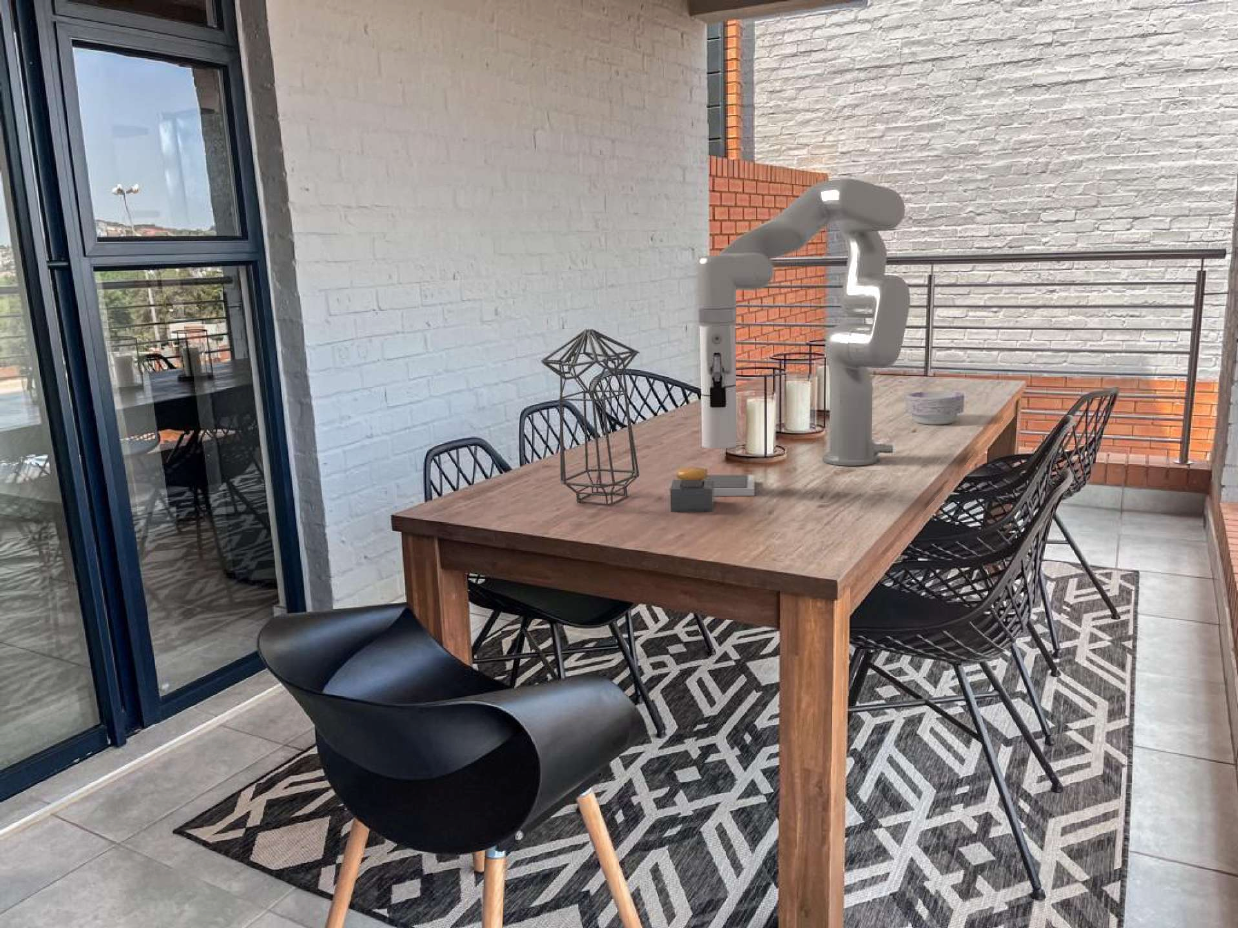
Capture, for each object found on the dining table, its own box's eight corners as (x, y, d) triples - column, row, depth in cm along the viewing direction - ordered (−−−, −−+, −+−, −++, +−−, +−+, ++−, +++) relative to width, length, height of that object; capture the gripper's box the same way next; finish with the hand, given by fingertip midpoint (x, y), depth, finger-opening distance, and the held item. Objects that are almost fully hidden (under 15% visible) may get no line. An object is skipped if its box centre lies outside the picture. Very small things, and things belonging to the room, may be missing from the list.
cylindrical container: (735, 448, 197) (733, 325, 191) (700, 448, 198) (697, 326, 193) (738, 442, 203) (736, 322, 198) (704, 442, 205) (702, 323, 200)
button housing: (714, 500, 193) (713, 479, 192) (712, 511, 186) (711, 488, 185) (674, 501, 194) (673, 479, 193) (670, 511, 187) (670, 489, 186)
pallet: (754, 481, 208) (754, 474, 207) (754, 495, 196) (754, 487, 196) (689, 482, 210) (689, 474, 209) (685, 496, 198) (685, 488, 198)
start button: (708, 492, 192) (708, 467, 191) (707, 500, 186) (706, 474, 185) (678, 492, 193) (677, 467, 192) (676, 500, 187) (675, 474, 186)
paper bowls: (907, 417, 276) (908, 389, 274) (964, 418, 270) (965, 390, 269) (902, 426, 262) (903, 397, 260) (962, 428, 257) (963, 398, 255)
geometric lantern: (613, 512, 188) (600, 332, 180) (548, 506, 196) (532, 334, 189) (653, 493, 201) (642, 324, 193) (590, 487, 209) (578, 326, 202)
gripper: (735, 320, 186) (736, 410, 190) (736, 314, 203) (737, 397, 207) (696, 321, 187) (698, 411, 191) (701, 315, 204) (702, 398, 208)
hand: (718, 403), depth 199 cm, fingers closed on cylindrical container, 7 cm apart
